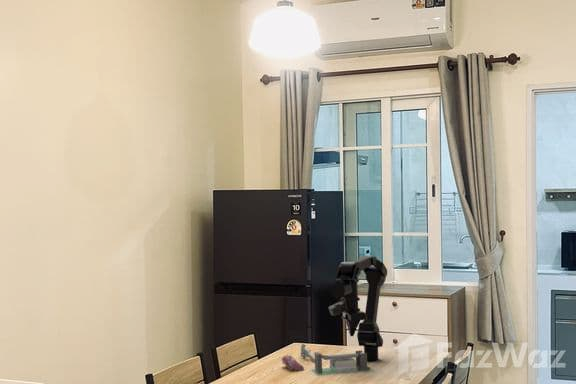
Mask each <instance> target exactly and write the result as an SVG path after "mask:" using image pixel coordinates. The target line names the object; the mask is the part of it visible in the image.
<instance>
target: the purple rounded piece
mask: <svg viewBox="0 0 576 384" xmlns="http://www.w3.org/2000/svg"><path fill="white" fill-rule="evenodd" d="M281 363H282V365H285V366H286V367H287V369H289V370H290V371H298V372H301V371H305V367H304V366H303V365H302V364H301V363H299V362H298V361H297V360H296V359H295V358H294V357H293V356H292V355H289V354H288V355H287V354H286V355H285V356H283V357H282V358H281Z"/></svg>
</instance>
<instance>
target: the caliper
mask: <svg viewBox="0 0 576 384" xmlns="http://www.w3.org/2000/svg"><path fill="white" fill-rule="evenodd" d="M300 357H303V358H302V359H306V358H309V359H310V360H311V361H312V362H313V363H314V364H315V355H313V354H312V353H311V352H310V350H309V349H308V348H307V347H306V344H305V343H301V345H300Z"/></svg>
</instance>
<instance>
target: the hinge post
mask: <svg viewBox="0 0 576 384" xmlns="http://www.w3.org/2000/svg"><path fill="white" fill-rule="evenodd" d="M359 352H361V353H360V357H355V360H356V368H357V369H358V370H360V371H361V370H370V368H371V367H370V366H368V362H367V353H364V352H363V350H355V353H359Z"/></svg>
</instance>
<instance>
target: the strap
mask: <svg viewBox="0 0 576 384" xmlns="http://www.w3.org/2000/svg"><path fill="white" fill-rule="evenodd" d="M360 353H361V352H359V353H356V352H355V353H343V354H342V353H341V354H329V355H324V354H323V355H324V358H322V360H324V361H328V360H329V361H330V359H342V358H353V359H355V358H356V357H360Z"/></svg>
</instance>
